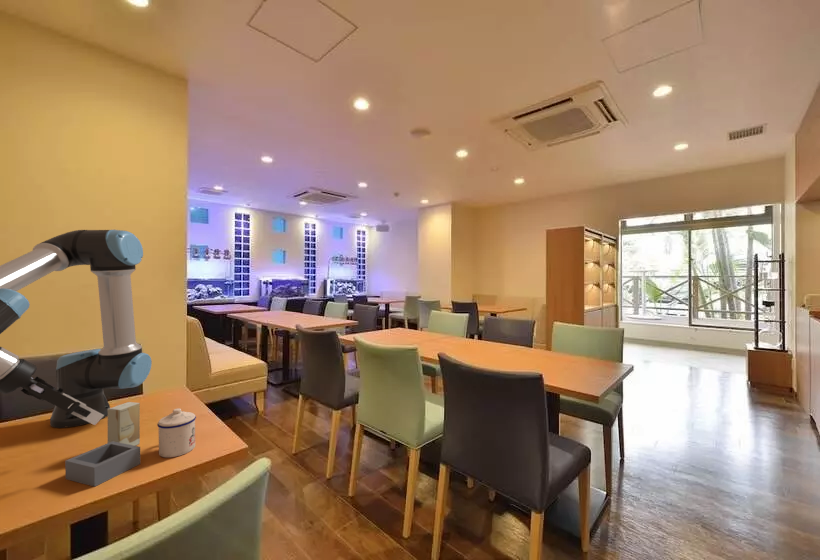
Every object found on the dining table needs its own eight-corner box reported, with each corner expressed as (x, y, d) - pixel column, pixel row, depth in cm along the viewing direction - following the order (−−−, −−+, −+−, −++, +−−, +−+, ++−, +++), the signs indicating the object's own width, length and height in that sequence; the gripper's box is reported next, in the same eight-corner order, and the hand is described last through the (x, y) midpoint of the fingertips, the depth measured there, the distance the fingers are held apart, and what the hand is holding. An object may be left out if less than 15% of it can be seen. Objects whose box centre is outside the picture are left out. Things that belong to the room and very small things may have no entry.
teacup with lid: (198, 451, 99) (197, 410, 99) (158, 462, 93) (157, 418, 93) (193, 436, 108) (192, 398, 108) (156, 444, 103) (156, 405, 103)
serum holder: (65, 478, 86) (65, 460, 86) (112, 457, 96) (112, 441, 96) (94, 486, 83) (94, 467, 83) (140, 463, 93) (140, 446, 92)
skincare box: (119, 454, 97) (118, 410, 97) (106, 452, 98) (105, 409, 98) (141, 443, 104) (140, 402, 104) (129, 441, 105) (128, 401, 104)
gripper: (-24, 377, 86) (62, 417, 99) (-2, 396, 72) (93, 439, 85) (9, 351, 90) (86, 393, 103) (34, 364, 77) (120, 410, 90)
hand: (90, 414), depth 94 cm, fingers open, 13 cm apart
